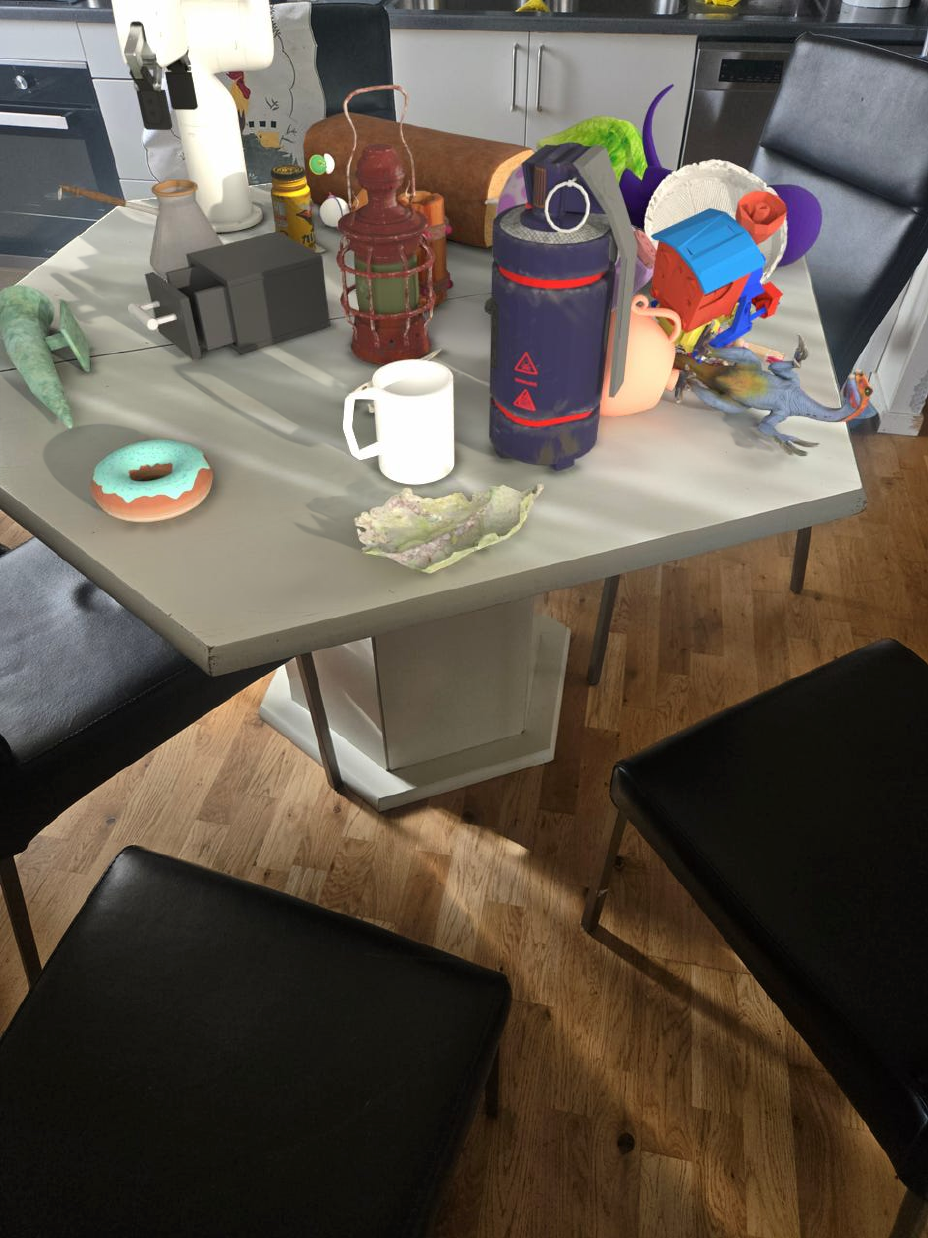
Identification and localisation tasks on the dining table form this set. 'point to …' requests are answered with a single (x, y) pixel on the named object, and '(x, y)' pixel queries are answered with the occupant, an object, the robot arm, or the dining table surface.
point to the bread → (419, 168)
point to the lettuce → (607, 142)
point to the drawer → (188, 310)
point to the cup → (409, 421)
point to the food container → (710, 202)
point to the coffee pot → (168, 222)
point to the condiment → (293, 205)
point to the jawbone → (369, 385)
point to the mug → (436, 234)
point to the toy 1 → (333, 205)
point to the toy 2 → (645, 252)
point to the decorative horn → (40, 343)
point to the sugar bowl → (642, 361)
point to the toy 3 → (798, 200)
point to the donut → (139, 500)
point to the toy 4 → (760, 351)
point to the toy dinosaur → (763, 388)
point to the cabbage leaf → (443, 525)
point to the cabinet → (268, 288)
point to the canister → (558, 305)
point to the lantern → (385, 257)
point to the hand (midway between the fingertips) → (172, 118)
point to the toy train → (716, 270)
